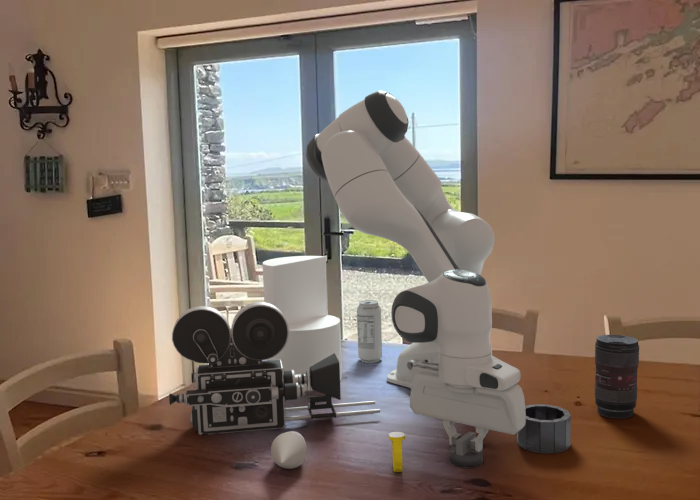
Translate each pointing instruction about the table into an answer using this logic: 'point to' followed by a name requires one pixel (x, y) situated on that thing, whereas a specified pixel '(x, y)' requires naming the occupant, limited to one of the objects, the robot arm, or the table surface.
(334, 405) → the film camera
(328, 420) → the table surface
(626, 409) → the camera lens
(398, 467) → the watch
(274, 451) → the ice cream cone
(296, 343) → the cylinder
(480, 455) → the grey dial knob
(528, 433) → the faceted grey ring
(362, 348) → the energy drink can
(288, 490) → the table surface
